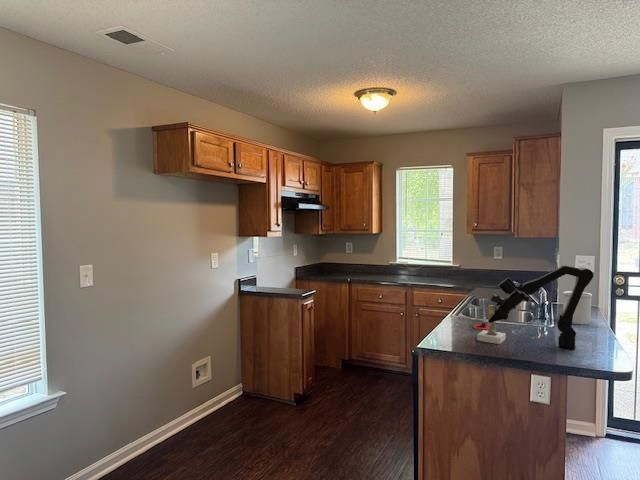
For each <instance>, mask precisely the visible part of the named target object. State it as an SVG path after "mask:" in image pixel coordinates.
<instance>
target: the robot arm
mask: <svg viewBox="0 0 640 480" xmlns="http://www.w3.org/2000/svg"><path fill="white" fill-rule="evenodd" d="M565 275H567V276H568V275H569V276H573V277H575V283H574V287H573V289H572V290H571V291H572V294H571V296H570V298H569V301H568V303H567V305H566V308H565V310H564V312H563V311H562V313H559V312H558V313H557V317H556V318H555V320H554V321H555V325H556V328H557V329H558V330H559V332H560V334H559V336H558V347H559V348H561V349H567V350H575V349H576V348H577V345H576V341H577V340H576V337H577V336H576V335H577V332H576V331H575V329H574V328H573V327H572V325H573V323H572V320H573V314H574V312H575V310H576V307H577V305H578V303H579V300H580V298H581V296H582V293H583V292H585V291H584V290H585V289H586V288H587V286H588V285H589V284H590V283H591V282H592V280H593V278H594V273H593V271H592V270H591V269H589V268H587V267H580V268H577V267H574V266H569V265H566V264H564V265H563V264H562V265H561V266H560V267H557V268H556V269H554V270H552V271H550V272H548V273H546V274H545V275H543V276H541V277H538V278H536V279H531V280H528V281H525V282H524V283H519V284H515V283H514V281H513V280H512V279H511V277H507V278H505V279H504V280H501V282H500V283H499V284H498V285H497V287H498V288H499V289H500V290H502V292H503V293H504V294H505V295H507V294H508V295H509V296H508V297H505V298H503V297H502V296H500V295H498V294H495V293H493V294H492V296H491V298H490V301H491V302H494V303H495V306H496V309H495V313H494V315H493V316H492V317H491V318H490V319H489V321H488V320H487V323H488V322H489V323H491V322H494V321H496V322H499V321H501V320H504V321H506V320H507V319H509V314H510V312H511V311H513V310H515V309H516V308H517V307H518V305H519V306H520V304H521V303H522V302H524V301H525V302H527V303H529V300H530V296H531V295H533V294H535V293H537V291H538V290H540V289H541V288H542V287H544V286H545V285H547V284H549V283H551V282H553V281H555V280H558V279H559V278H562V277H563V276H565Z"/></svg>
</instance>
